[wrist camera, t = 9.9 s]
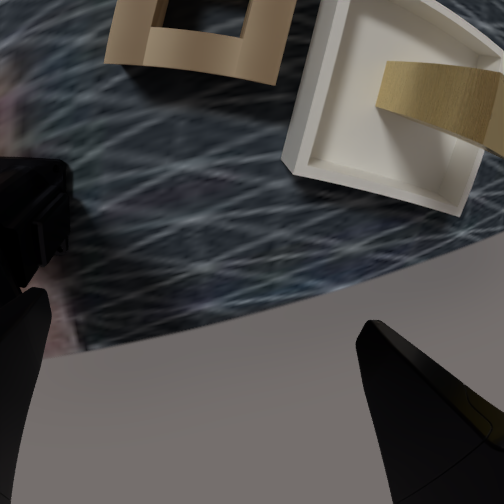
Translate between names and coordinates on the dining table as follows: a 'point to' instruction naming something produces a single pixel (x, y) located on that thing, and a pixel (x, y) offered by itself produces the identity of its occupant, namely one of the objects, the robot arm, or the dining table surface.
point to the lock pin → (448, 100)
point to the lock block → (201, 41)
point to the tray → (376, 119)
